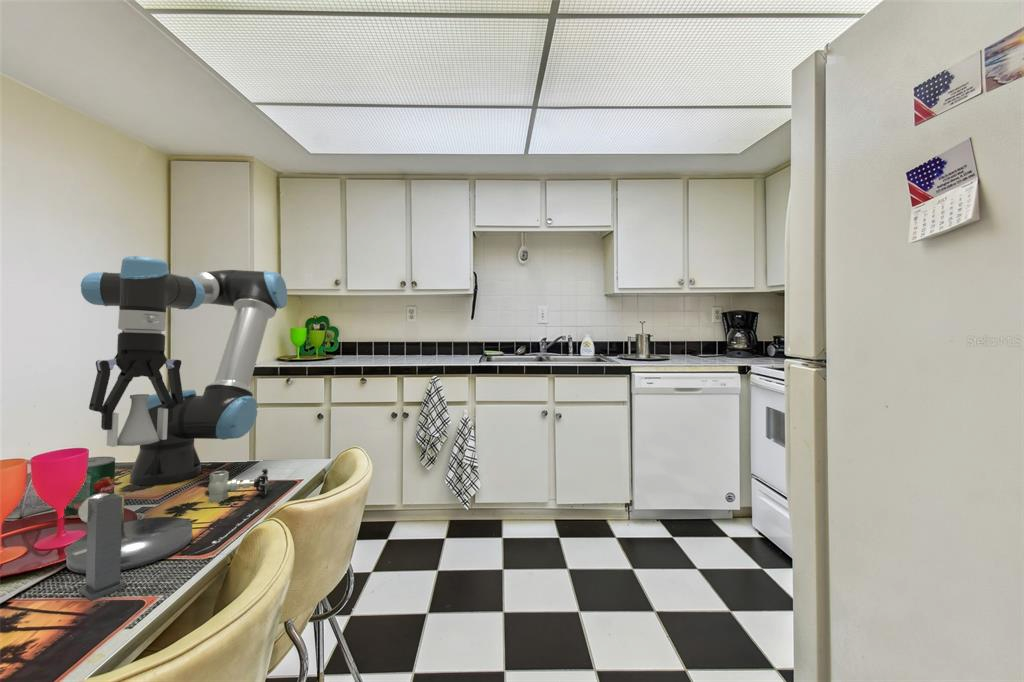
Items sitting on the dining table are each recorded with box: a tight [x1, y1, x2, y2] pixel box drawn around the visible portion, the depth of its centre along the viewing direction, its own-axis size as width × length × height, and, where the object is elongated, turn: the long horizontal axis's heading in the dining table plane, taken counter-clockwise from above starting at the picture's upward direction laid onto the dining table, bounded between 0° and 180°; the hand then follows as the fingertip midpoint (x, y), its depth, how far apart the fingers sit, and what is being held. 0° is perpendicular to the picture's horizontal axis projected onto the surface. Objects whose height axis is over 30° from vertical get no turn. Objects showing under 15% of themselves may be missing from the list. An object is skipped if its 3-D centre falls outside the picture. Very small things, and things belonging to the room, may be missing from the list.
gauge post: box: [78, 493, 127, 601], centre depth 66 cm, size 4×5×14 cm
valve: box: [207, 468, 269, 504], centre depth 104 cm, size 7×7×12 cm
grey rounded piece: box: [65, 492, 193, 574], centre depth 78 cm, size 17×17×8 cm
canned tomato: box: [65, 456, 116, 519], centre depth 94 cm, size 8×8×11 cm
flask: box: [116, 393, 159, 447], centre depth 90 cm, size 7×7×10 cm
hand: (137, 441), depth 89 cm, fingers closed on flask, 8 cm apart
